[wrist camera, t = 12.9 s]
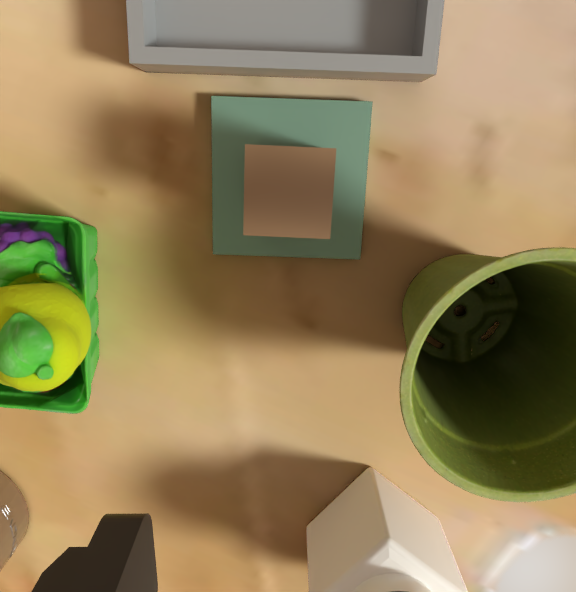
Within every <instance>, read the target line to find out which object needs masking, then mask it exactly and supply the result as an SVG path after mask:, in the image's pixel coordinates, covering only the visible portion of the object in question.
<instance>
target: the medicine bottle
mask: <svg viewBox="0 0 576 592" xmlns="http://www.w3.org/2000/svg"><path fill="white" fill-rule="evenodd" d="M306 531H307V556H308V582H309V592H468V591H467V588H466V586H465V583H464V581H463V578H462V576H461V573H460V571H459V568H458V566H457V563H456V561H455V558H454V556H453V553H452V551H451V548H450V546H449V543H448V541H447V538H446V536H445V533H444V531H443V528H442V526H441V523H440V521H439V519H438V518H437V517H436V516H435V515H434V514H433V513H431V512H430V511H429V510H427V509H426V508H425V507H423V506H422V505H421V504H419V503H418V502H417V501H416V500H414V499H413V498H412V497H410V496H409V495H408V494H406V493H405V492H404V491H402V490H401V489H400V488H399V487H397V486H396V485H395V484H393V483H392V482H391V481H389V480H388V479H387V478H385V477H384V476H383V475H382V474H380V473H379V472H378V471H376V470H375V469H374V468H372V467H369V468H367V469H366V470H365V471H364V472H363V473H362V474H361V475H360V476H359V477H357V478H356V479H355V480H354V481H353V482H352V483H351V484H350V485H349V486H348V487H347V488H346V489H345V490H344V491H343V492H342V493H341V494H340V495H339V496H338V497H336V498H335V499H334V500H333V501H332V502H331V503H330V504H329V505H328V506H327V507H326V508H325V509H324V510H323V511H322V512H321V513H320V514H319V515H318V516H316V517H315V518H314V519H313V520H312V521H311V522H310V523H309V524H308V525H307V528H306Z"/></svg>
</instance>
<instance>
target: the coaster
mask: <svg viewBox="0 0 576 592" xmlns="http://www.w3.org/2000/svg"><path fill="white" fill-rule="evenodd" d="M211 112H212V213H213V254H220V255H248V256H277V257H305V258H334V259H360V256H361V243H362V230H363V217H364V204H365V191H366V178H367V165H368V153H369V140H370V127H371V114H372V102H369V101H341V100H313V99H285V98H257V97H229V96H211ZM245 144H251V145H273V146H294V147H316V148H336V163H335V177H334V191H333V206H332V220H331V234H330V239H315V238H293V237H271V236H249V235H243V221H244V167H245Z"/></svg>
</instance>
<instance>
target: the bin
mask: <svg viewBox="0 0 576 592" xmlns="http://www.w3.org/2000/svg"><path fill="white" fill-rule="evenodd" d="M126 8H127V27H128V45H129V63H130V64H132V65H134V66H136V67H137V68H139V69H141V70H143V71H145V72H154V73H182V74H210V75H238V76H266V77H294V78H322V79H350V80H377V81H405V82H422V81H424V80H426V79H428V78H430V77H432V76H434V75H436V72H437V63H438V54H439V45H440V36H441V27H442V18H443V9H444V0H126Z"/></svg>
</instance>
